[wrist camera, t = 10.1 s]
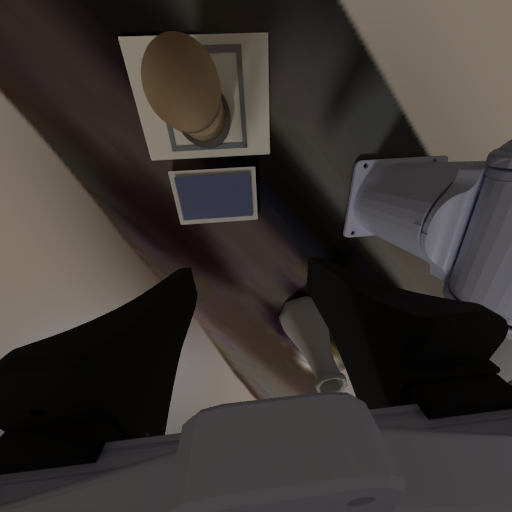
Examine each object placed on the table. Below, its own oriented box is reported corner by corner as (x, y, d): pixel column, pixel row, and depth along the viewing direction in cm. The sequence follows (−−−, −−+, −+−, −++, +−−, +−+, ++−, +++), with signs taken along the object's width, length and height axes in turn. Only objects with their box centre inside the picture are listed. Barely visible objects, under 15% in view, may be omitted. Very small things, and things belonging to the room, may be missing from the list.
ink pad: (254, 166, 18) (255, 166, 17) (257, 216, 20) (258, 220, 19) (171, 171, 18) (166, 171, 17) (183, 222, 20) (179, 225, 19)
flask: (278, 296, 25) (299, 367, 16) (329, 292, 26) (376, 360, 17) (277, 333, 29) (293, 409, 20) (322, 329, 29) (359, 403, 20)
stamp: (227, 84, 15) (216, 22, 9) (233, 146, 17) (228, 132, 11) (172, 87, 15) (123, 27, 9) (185, 150, 17) (151, 137, 10)
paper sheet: (267, 34, 14) (268, 31, 14) (269, 154, 18) (270, 153, 17) (120, 39, 14) (117, 35, 13) (152, 160, 17) (150, 160, 17)
